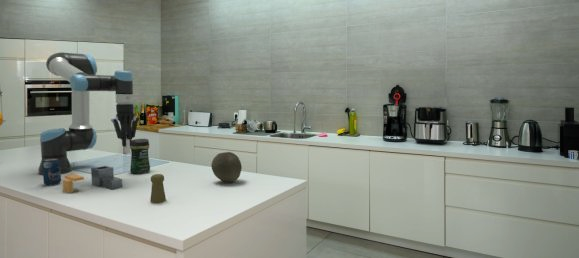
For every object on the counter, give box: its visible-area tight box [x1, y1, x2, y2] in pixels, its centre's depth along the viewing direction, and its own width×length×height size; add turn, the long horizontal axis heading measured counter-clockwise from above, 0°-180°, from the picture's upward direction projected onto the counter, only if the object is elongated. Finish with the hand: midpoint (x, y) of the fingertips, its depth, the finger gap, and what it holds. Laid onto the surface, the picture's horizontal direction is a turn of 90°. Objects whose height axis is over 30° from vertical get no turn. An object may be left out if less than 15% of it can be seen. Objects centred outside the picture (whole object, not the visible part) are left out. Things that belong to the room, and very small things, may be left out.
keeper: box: [61, 173, 85, 194], centre depth 162 cm, size 9×6×6 cm, turn 55°
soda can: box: [42, 158, 62, 187], centre depth 172 cm, size 7×7×12 cm
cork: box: [150, 173, 167, 204], centre depth 147 cm, size 6×6×11 cm
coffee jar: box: [130, 138, 151, 175], centre depth 197 cm, size 10×8×19 cm
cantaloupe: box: [210, 151, 243, 183], centre depth 177 cm, size 14×14×15 cm
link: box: [90, 165, 124, 191], centre depth 170 cm, size 16×7×8 cm, turn 55°
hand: (127, 152), depth 174 cm, fingers closed
